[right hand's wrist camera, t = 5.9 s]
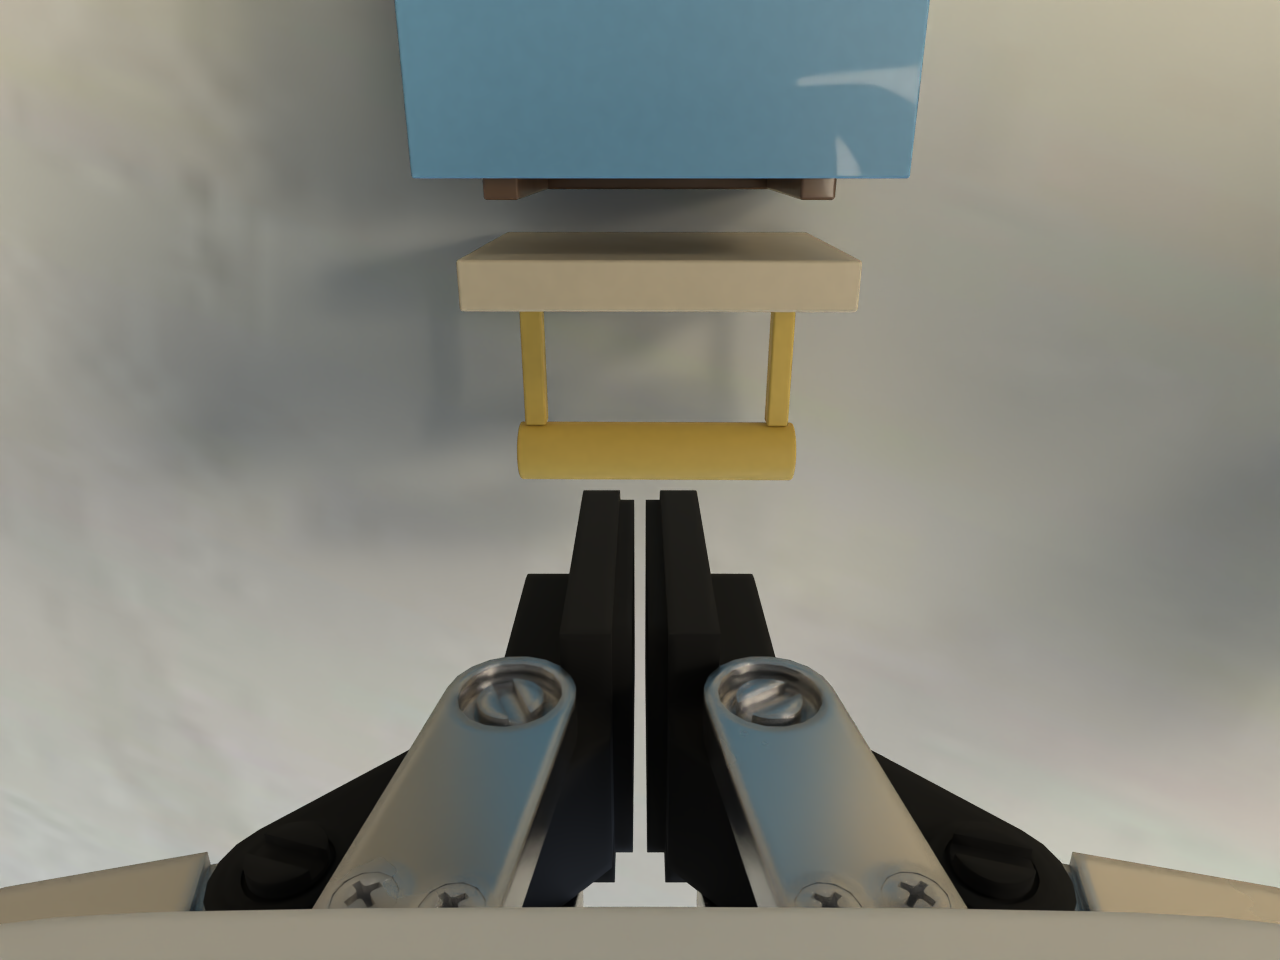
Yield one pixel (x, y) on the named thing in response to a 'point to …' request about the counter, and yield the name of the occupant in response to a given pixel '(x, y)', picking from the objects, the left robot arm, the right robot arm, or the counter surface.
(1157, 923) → the right robot arm
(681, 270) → the drawer
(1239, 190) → the counter surface
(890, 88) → the cabinet
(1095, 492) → the counter surface
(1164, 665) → the counter surface
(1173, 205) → the counter surface
